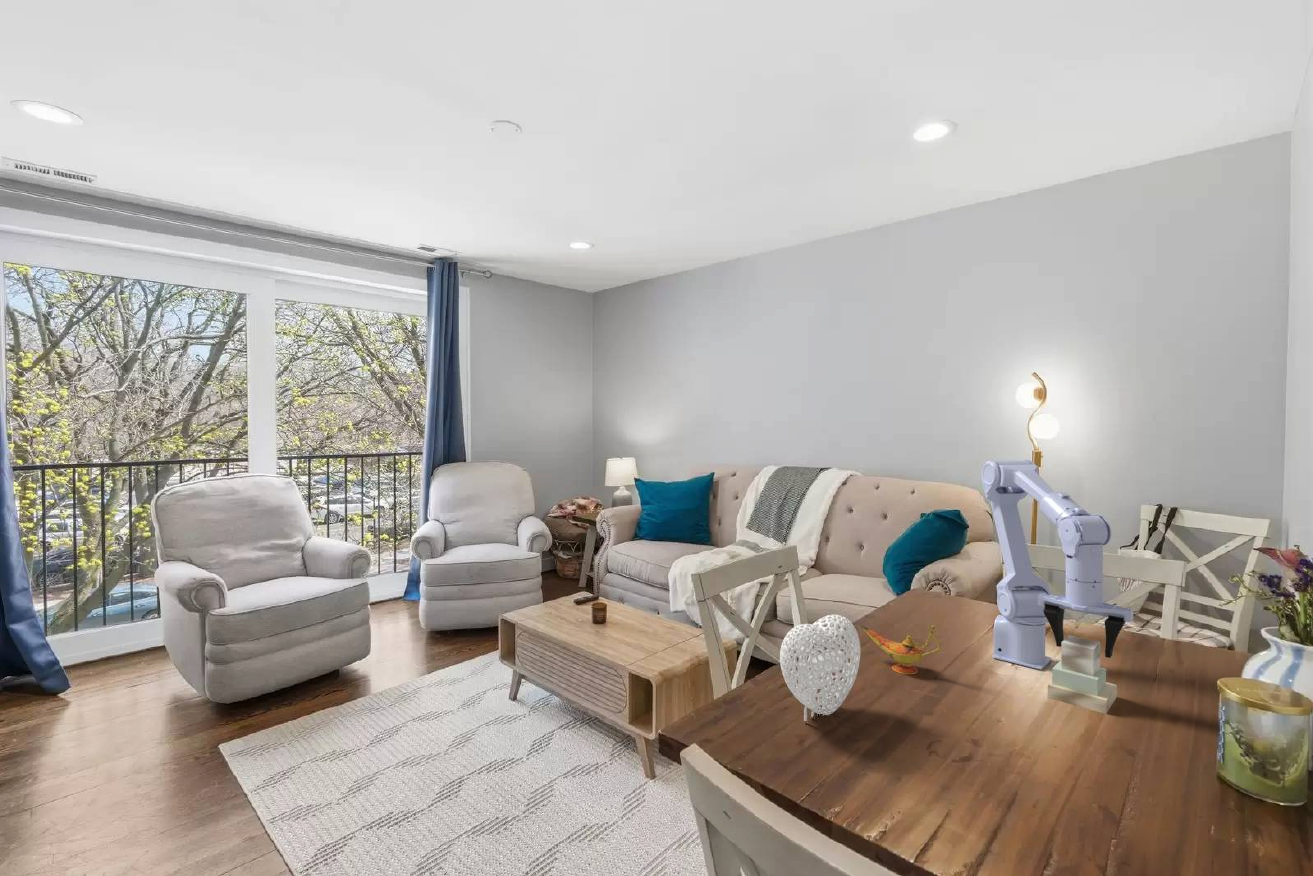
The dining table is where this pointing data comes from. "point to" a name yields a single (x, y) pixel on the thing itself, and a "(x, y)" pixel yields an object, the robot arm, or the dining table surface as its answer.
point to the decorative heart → (821, 663)
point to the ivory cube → (1080, 655)
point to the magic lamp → (902, 650)
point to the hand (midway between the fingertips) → (1083, 650)
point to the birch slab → (1085, 697)
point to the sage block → (1079, 680)
